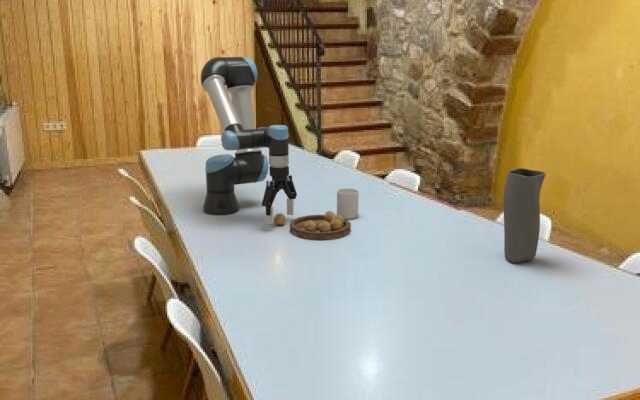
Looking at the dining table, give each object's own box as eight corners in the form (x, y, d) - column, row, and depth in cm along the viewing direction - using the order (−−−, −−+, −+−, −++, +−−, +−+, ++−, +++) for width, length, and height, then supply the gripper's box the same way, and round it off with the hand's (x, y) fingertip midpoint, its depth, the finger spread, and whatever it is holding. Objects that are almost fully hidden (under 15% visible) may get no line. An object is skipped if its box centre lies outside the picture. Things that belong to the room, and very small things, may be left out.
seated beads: (301, 232, 219) (301, 221, 217) (327, 220, 234) (327, 209, 233) (328, 238, 213) (328, 226, 211) (353, 225, 228) (353, 213, 227)
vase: (517, 268, 189) (527, 178, 181) (490, 256, 199) (498, 170, 191) (544, 262, 194) (555, 174, 186) (517, 250, 205) (525, 166, 197)
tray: (278, 233, 222) (278, 226, 221) (311, 218, 241) (311, 211, 240) (330, 244, 210) (330, 237, 209) (360, 227, 229) (360, 220, 228)
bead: (271, 225, 231) (271, 214, 230) (278, 222, 235) (278, 211, 233) (281, 227, 229) (281, 216, 227) (288, 224, 232) (287, 213, 231)
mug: (360, 219, 239) (361, 193, 236) (340, 220, 237) (340, 194, 234) (351, 211, 251) (352, 186, 248) (332, 212, 248) (332, 187, 245)
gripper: (267, 172, 213) (268, 228, 218) (305, 161, 233) (305, 212, 239) (251, 170, 217) (253, 225, 222) (289, 159, 237) (290, 210, 243)
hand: (280, 218), depth 230 cm, fingers open, 13 cm apart
